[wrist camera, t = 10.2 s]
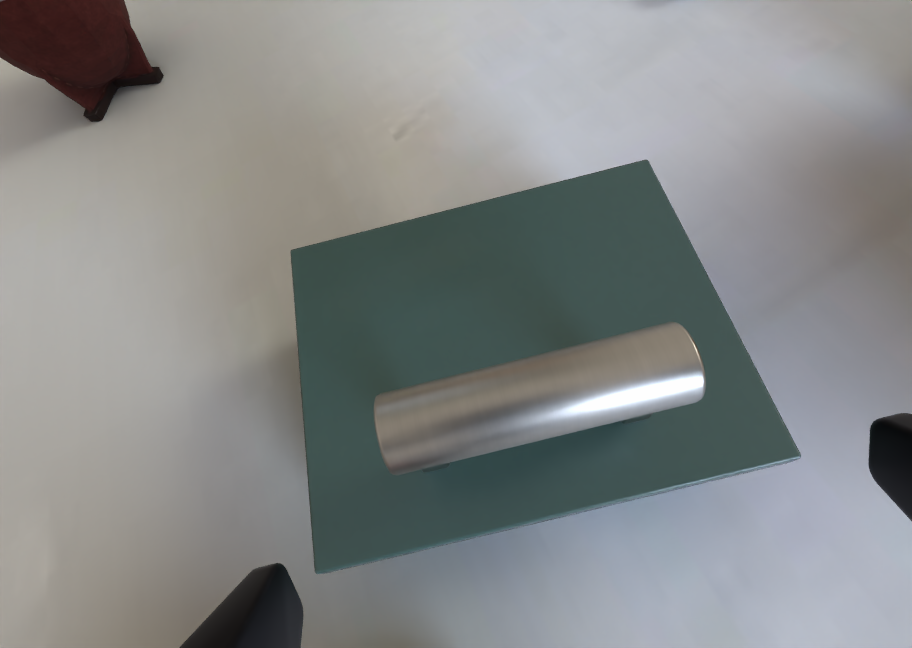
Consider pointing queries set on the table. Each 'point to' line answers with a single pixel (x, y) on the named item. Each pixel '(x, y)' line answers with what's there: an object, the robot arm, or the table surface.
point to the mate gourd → (76, 48)
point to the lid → (517, 368)
